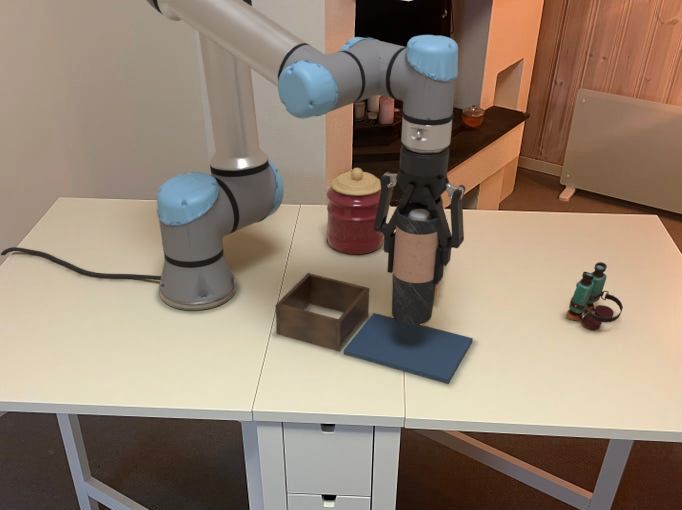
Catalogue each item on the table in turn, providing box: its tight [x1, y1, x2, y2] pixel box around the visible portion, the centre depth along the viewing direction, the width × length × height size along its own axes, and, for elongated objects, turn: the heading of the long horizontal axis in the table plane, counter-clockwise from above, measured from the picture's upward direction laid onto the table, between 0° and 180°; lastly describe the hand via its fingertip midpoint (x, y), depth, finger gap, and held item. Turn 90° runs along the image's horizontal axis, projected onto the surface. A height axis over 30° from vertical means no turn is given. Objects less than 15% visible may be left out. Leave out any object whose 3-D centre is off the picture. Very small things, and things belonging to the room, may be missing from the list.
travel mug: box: [391, 202, 440, 325], centre depth 129 cm, size 8×8×20 cm
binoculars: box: [565, 261, 624, 331], centre depth 144 cm, size 9×11×10 cm
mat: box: [343, 312, 474, 385], centre depth 139 cm, size 20×14×1 cm
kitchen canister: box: [326, 167, 384, 255], centre depth 167 cm, size 13×13×18 cm
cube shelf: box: [275, 272, 371, 352], centre depth 143 cm, size 13×13×6 cm
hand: (414, 274), depth 130 cm, fingers closed on travel mug, 8 cm apart
